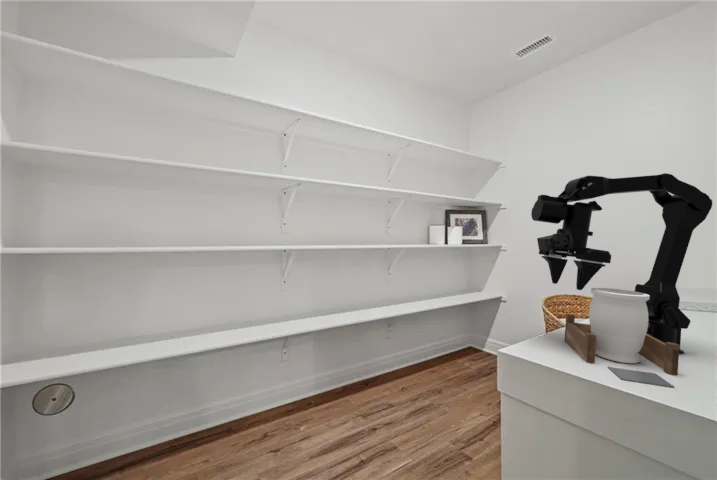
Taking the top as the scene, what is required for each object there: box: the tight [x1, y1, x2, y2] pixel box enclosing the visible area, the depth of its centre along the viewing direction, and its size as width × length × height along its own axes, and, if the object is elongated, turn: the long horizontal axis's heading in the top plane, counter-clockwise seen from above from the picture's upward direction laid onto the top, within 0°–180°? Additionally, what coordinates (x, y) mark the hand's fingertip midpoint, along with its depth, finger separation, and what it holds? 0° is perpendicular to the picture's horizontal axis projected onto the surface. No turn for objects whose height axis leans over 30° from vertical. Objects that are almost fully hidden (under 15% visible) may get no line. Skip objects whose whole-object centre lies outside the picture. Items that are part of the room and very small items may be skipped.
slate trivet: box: [607, 366, 676, 389], centre depth 62 cm, size 8×6×1 cm
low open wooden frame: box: [564, 313, 680, 376], centre depth 73 cm, size 16×15×7 cm
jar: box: [588, 287, 650, 364], centre depth 73 cm, size 11×10×15 cm
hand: (566, 286), depth 82 cm, fingers open, 9 cm apart
